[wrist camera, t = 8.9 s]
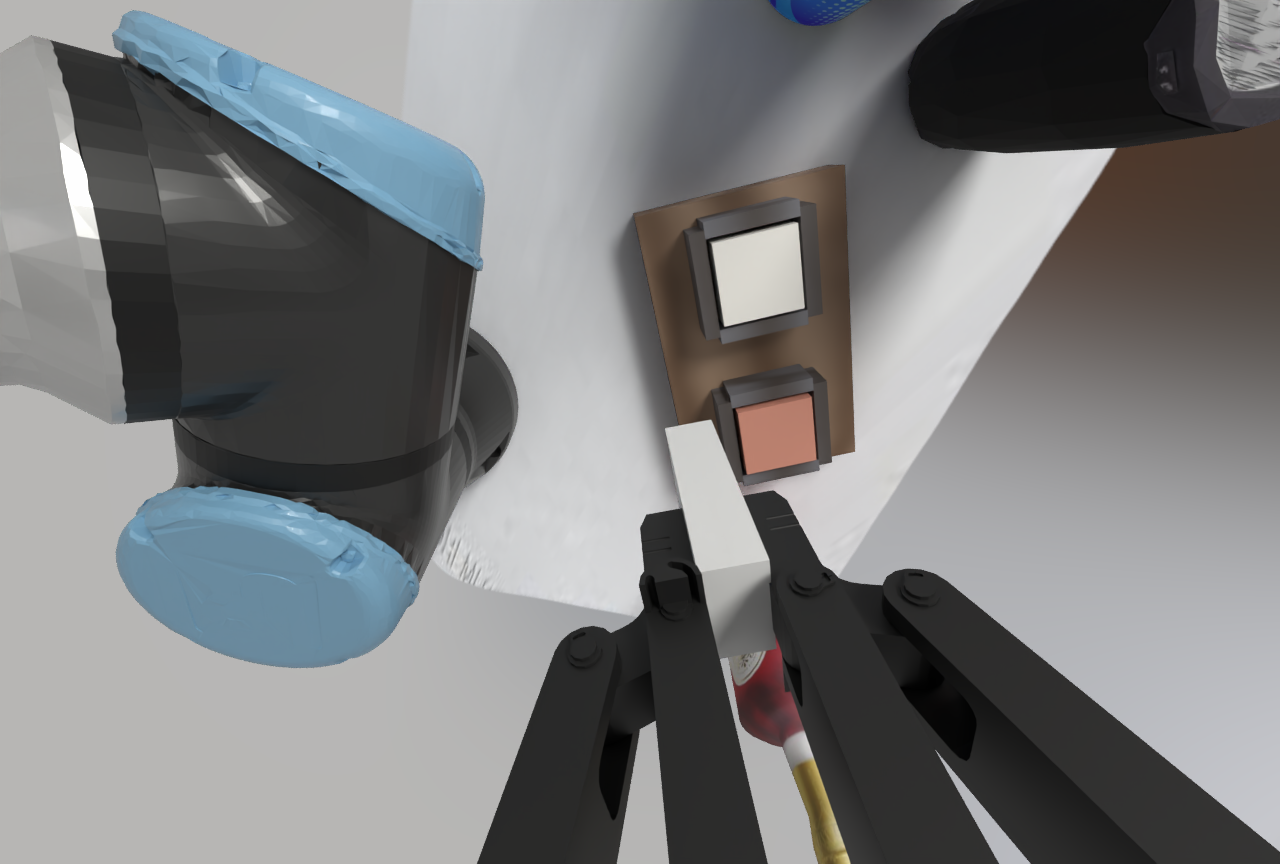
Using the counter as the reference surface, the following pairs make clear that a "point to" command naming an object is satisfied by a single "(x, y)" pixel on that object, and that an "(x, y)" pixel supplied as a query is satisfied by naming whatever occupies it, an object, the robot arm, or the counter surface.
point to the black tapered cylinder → (1095, 73)
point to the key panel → (763, 348)
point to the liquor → (786, 741)
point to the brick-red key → (776, 433)
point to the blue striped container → (816, 10)
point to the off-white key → (757, 272)
